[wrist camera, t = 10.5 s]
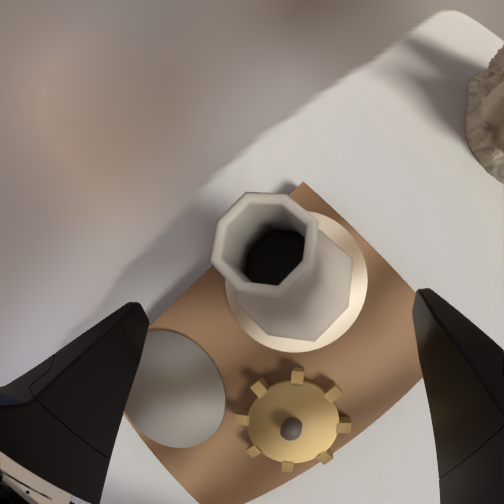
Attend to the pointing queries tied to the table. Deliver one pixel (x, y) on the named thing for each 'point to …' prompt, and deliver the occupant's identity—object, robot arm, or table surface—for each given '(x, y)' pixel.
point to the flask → (282, 266)
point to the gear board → (271, 377)
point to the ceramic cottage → (487, 117)
